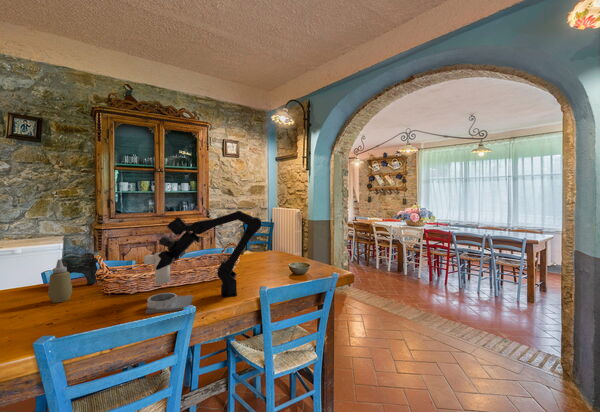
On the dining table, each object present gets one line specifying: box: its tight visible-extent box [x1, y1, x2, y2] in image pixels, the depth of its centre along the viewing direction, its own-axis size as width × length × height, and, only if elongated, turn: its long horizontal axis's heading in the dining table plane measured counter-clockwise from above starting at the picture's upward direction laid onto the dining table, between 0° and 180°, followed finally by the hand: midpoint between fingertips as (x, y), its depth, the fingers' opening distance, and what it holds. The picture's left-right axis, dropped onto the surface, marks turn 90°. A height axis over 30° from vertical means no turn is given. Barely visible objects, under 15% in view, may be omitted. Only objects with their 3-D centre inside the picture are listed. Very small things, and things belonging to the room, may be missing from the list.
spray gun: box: [60, 245, 102, 285], centre depth 144 cm, size 20×6×20 cm, turn 93°
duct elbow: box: [143, 251, 171, 285], centre depth 126 cm, size 10×6×13 cm, turn 106°
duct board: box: [145, 292, 194, 315], centre depth 117 cm, size 16×14×4 cm
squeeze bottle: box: [47, 258, 73, 303], centre depth 122 cm, size 8×8×18 cm
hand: (159, 267), depth 126 cm, fingers closed on duct elbow, 6 cm apart
